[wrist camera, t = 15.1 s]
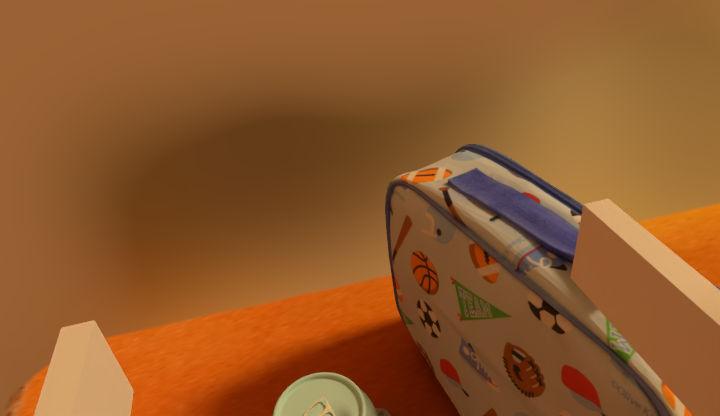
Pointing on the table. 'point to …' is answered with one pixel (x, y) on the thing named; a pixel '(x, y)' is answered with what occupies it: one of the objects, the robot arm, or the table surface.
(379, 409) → the ring
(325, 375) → the can
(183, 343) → the table surface
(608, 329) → the lunch box
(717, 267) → the table surface
